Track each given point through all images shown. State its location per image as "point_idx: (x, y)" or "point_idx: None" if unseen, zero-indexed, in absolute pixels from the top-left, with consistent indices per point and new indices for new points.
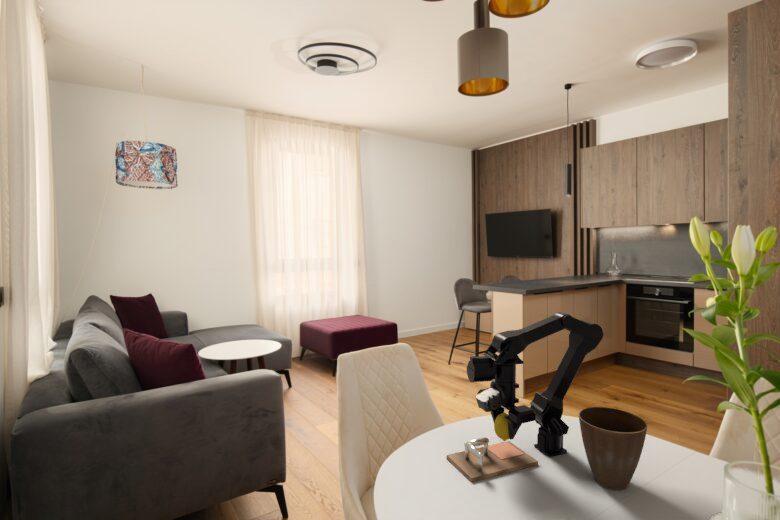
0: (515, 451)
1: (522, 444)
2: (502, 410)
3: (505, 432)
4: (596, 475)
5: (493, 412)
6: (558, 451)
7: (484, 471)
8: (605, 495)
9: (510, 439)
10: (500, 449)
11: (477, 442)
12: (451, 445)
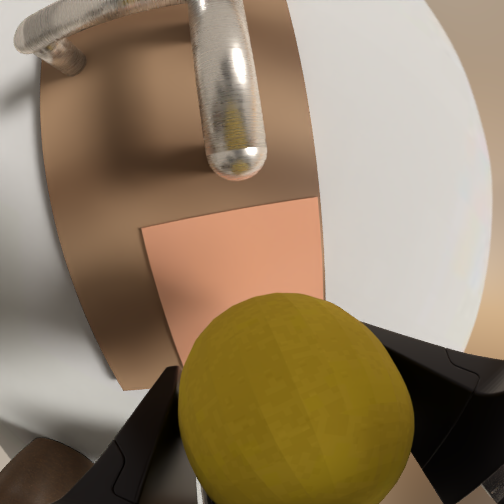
0: None
1: None
2: (432, 466)
3: (182, 378)
4: (35, 450)
5: (477, 399)
6: None
7: (61, 84)
8: (9, 417)
9: (169, 367)
10: (255, 277)
11: (195, 40)
12: (385, 66)
